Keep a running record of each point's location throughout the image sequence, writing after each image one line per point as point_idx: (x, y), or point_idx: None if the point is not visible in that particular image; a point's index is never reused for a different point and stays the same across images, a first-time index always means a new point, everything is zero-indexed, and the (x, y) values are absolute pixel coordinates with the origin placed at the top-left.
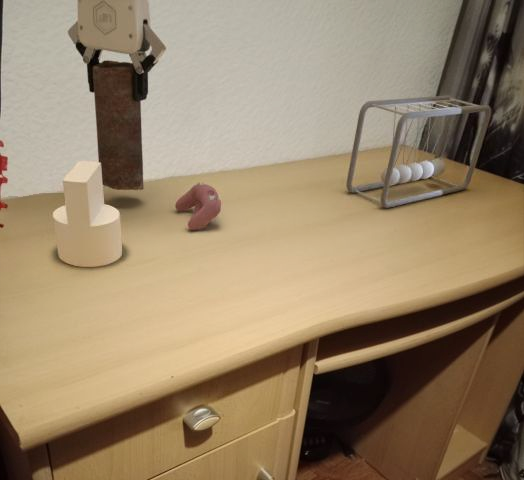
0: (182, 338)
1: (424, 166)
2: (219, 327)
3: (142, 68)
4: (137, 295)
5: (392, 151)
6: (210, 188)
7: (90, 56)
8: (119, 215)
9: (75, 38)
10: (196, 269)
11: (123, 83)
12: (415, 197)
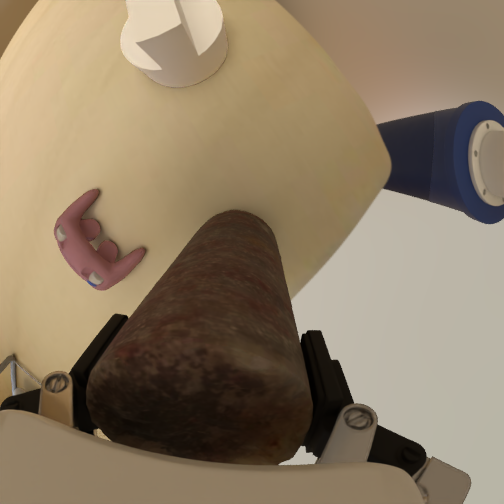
0: (54, 4)
1: None
2: (33, 32)
3: (42, 383)
4: (98, 16)
5: None
6: (67, 255)
7: (334, 434)
8: (122, 51)
9: (434, 478)
10: (59, 95)
11: (122, 327)
12: (11, 379)
